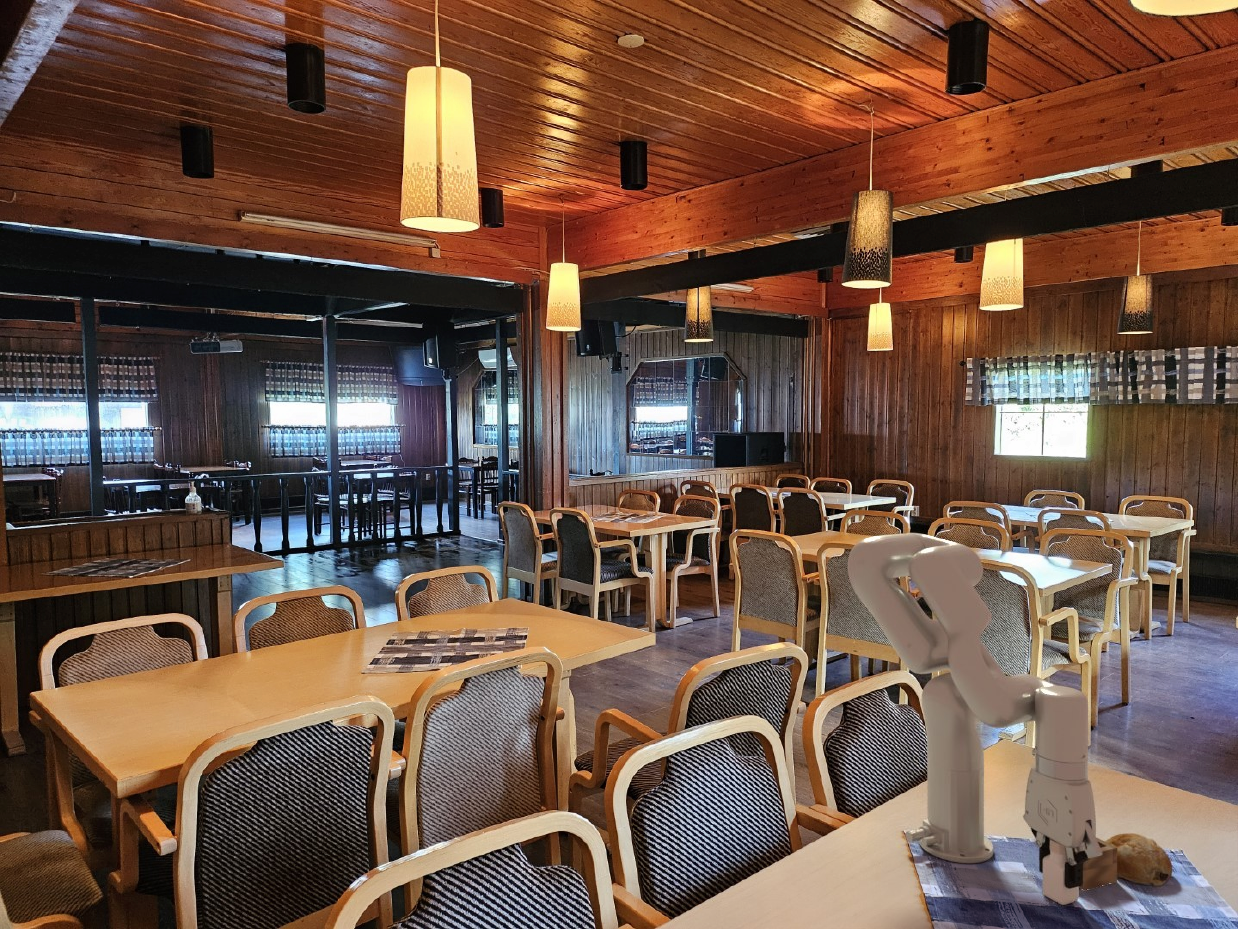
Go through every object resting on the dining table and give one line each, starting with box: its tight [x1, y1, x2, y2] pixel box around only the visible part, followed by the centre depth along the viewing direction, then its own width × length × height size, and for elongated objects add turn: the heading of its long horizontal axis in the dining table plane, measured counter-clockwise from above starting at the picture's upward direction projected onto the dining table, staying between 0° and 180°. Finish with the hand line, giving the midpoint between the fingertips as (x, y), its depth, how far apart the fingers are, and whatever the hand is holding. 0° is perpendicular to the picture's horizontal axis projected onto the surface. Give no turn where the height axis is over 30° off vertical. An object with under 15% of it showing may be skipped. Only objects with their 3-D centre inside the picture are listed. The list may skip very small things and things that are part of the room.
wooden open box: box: [1075, 836, 1118, 891], centre depth 141 cm, size 7×7×6 cm
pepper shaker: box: [1042, 838, 1080, 906], centre depth 134 cm, size 4×4×10 cm
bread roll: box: [1104, 833, 1173, 887], centre depth 142 cm, size 10×10×8 cm
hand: (1060, 877), depth 134 cm, fingers closed on pepper shaker, 4 cm apart
